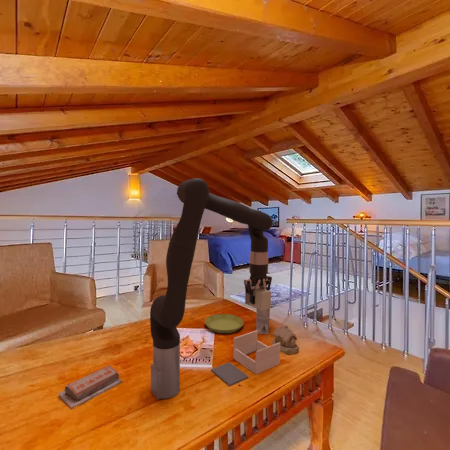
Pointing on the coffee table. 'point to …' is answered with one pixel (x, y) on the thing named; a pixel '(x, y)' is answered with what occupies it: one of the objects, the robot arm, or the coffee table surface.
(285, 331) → the ceramic model
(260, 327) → the coffee box
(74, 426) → the coffee table surface
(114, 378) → the packaged product
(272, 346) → the carton
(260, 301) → the box
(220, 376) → the mat
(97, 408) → the coffee table surface
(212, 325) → the saucer
